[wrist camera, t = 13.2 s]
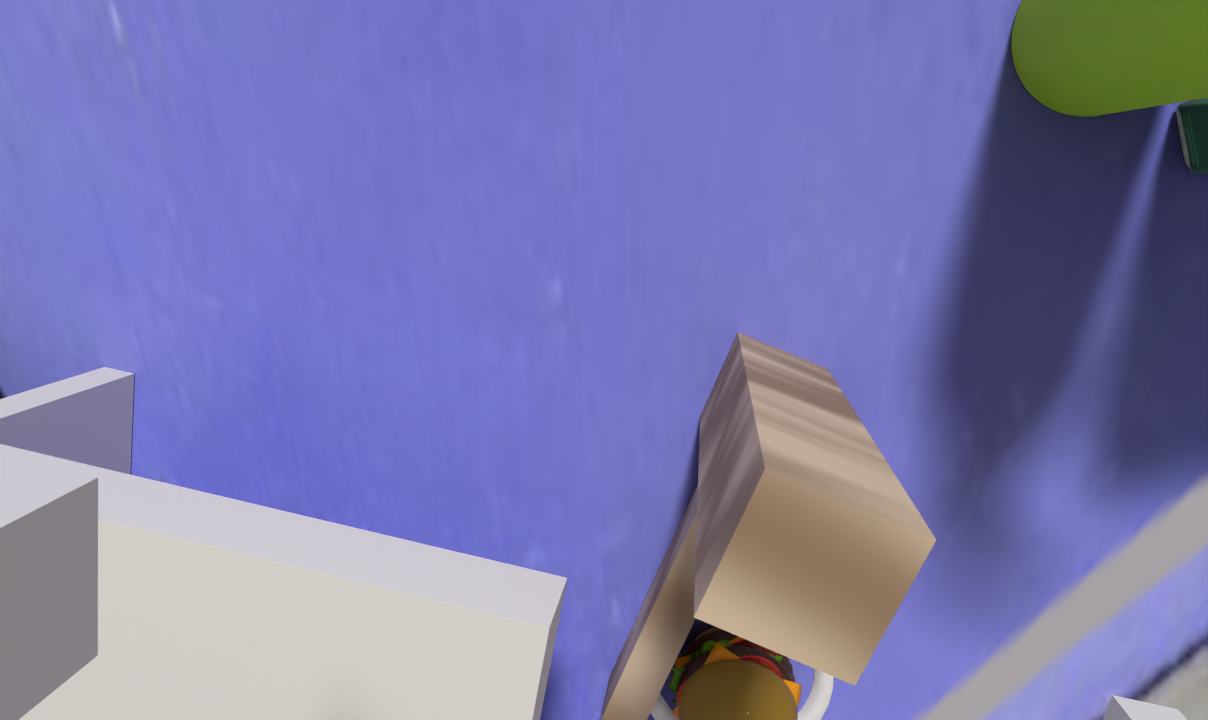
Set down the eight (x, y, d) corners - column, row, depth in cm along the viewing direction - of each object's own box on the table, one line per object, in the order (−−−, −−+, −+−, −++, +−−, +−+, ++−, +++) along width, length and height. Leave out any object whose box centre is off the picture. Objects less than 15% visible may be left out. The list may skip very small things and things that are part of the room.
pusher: (737, 332, 33) (765, 468, 17) (827, 368, 32) (936, 540, 17) (588, 667, 37) (502, 1016, 22) (666, 700, 37) (636, 1076, 21)
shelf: (104, 367, 37) (-173, 452, 25) (602, 478, 35) (549, 627, 23) (96, 659, 41) (-148, 850, 29) (543, 775, 39) (473, 1029, 27)
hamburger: (621, 773, 39) (608, 867, 34) (590, 551, 36) (571, 614, 31) (871, 769, 37) (899, 868, 32) (857, 535, 35) (884, 600, 29)
